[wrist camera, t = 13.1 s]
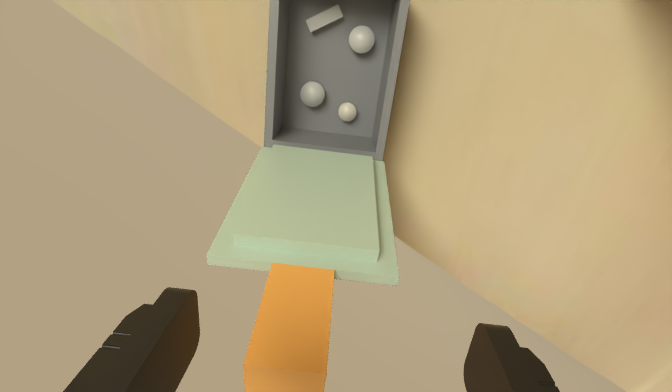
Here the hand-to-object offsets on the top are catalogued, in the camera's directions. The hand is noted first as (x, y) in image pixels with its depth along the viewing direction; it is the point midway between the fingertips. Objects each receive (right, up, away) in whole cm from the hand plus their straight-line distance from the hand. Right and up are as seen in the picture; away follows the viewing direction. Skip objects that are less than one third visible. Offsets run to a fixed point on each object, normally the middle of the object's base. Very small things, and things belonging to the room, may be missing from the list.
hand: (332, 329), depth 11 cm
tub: (0, +18, +30) cm, 35 cm away
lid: (-2, +3, +16) cm, 16 cm away
